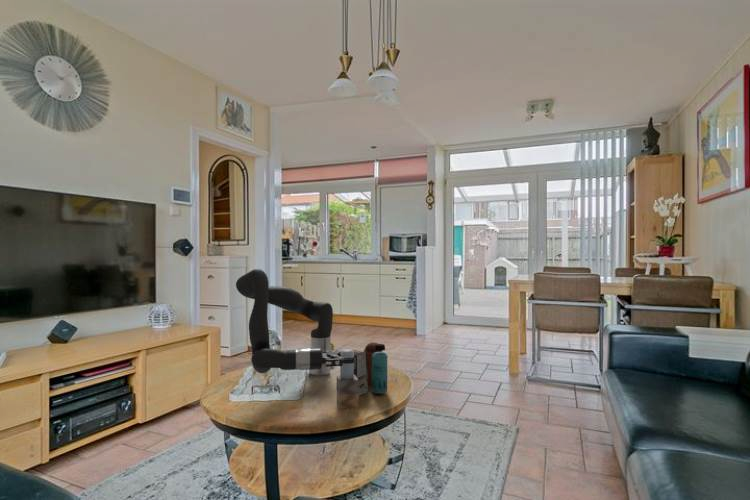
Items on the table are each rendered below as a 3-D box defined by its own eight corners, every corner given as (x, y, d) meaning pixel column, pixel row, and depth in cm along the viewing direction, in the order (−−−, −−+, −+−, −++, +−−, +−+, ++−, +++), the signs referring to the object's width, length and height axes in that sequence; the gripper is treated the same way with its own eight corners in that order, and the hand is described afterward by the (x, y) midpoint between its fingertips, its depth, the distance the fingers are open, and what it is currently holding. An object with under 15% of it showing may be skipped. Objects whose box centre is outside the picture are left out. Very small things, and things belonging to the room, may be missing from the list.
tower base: (339, 408, 150) (339, 395, 150) (336, 402, 157) (336, 388, 157) (358, 407, 152) (358, 393, 152) (355, 400, 158) (355, 387, 158)
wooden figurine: (388, 386, 175) (388, 343, 175) (376, 389, 171) (376, 346, 171) (370, 379, 184) (370, 339, 184) (359, 382, 180) (359, 341, 180)
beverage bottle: (371, 391, 169) (371, 342, 169) (387, 391, 168) (388, 342, 169) (370, 397, 162) (371, 346, 162) (387, 397, 162) (388, 346, 162)
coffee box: (368, 392, 167) (368, 352, 168) (357, 396, 163) (357, 355, 163) (352, 387, 174) (352, 349, 174) (341, 391, 169) (341, 351, 169)
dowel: (337, 378, 154) (337, 351, 154) (345, 374, 158) (346, 348, 158) (348, 380, 151) (348, 353, 151) (356, 377, 155) (356, 350, 155)
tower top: (339, 395, 150) (339, 381, 150) (336, 388, 157) (336, 375, 157) (358, 393, 152) (358, 379, 152) (354, 387, 159) (354, 374, 159)
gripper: (309, 353, 145) (355, 351, 148) (307, 344, 159) (349, 343, 162) (309, 374, 144) (355, 372, 148) (307, 364, 158) (349, 362, 162)
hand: (352, 357), depth 155 cm, fingers open, 8 cm apart
